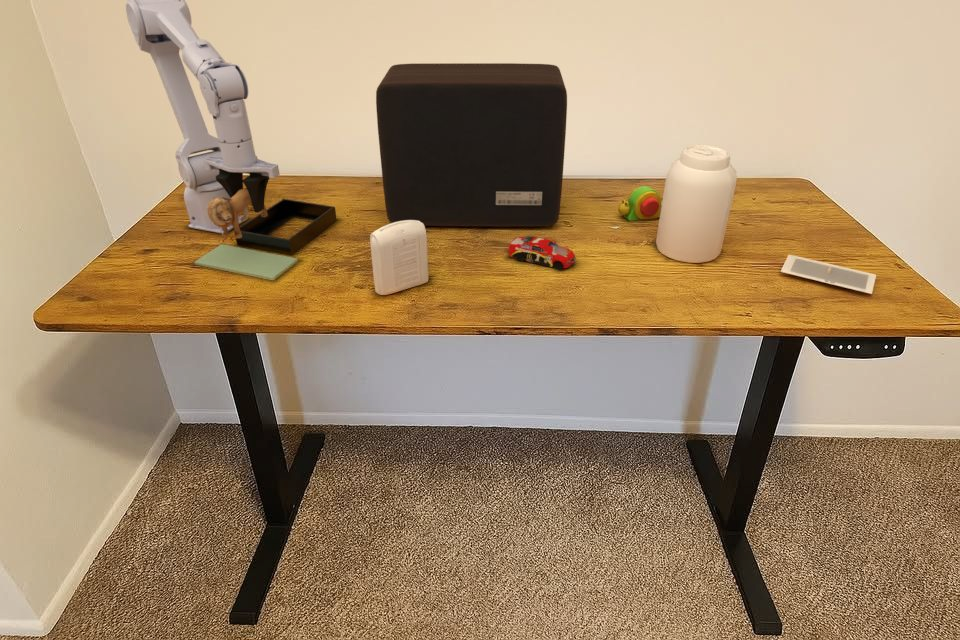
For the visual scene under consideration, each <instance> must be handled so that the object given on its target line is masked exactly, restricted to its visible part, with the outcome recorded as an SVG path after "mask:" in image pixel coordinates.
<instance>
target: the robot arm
mask: <svg viewBox="0 0 960 640" xmlns="http://www.w3.org/2000/svg"><path fill="white" fill-rule="evenodd" d="M125 13H126V18H127V21H128V24H129V27H130V30H131V32H132V34H133V37H134V40H135V42H136V44H137V45H138V48H139V50H140V51H142V52H144V53H147V54H150V57H151V59H152V61H153V63H154V64H155V67H156V69H157V72H158V74H159V77H160V80H161V83H162V86H163V88H164V91H165V93H166V95H167V98H168V101H169V103H170V106H171V108H172V111H173V114H174V116H175V119H176V122H177V124H178V127H179V130H180V133H181V134H182V137H183V141H182V143H181V144H179V146H178V148H177V149H176V152H175V159H176V163H177V168H178V172H179V175H180V177H181V180H182V181H183V183H184V185H185V188H184V191H183V201H184V204H185V208H186V211H187V214H188V219H189V222H190V223H189V224H188V225H187V226H188V228H190V229H195V230H200V231H205V232H212V233H217V234H221V235H222V233H224V232H223V230H222V228H221V227H218V226H217V225H215V224H214V223H213V222H212V221H211V219H210V218H209V216H208V214H207V209H206V207H207V206H208V202H209V201H210V200H212V199H213V198H217V197H218V198H219V197H220V198H222V197H224V198H227V199H230V198H231V197H233V196H234V195H235V194H236V193H237V192H238V191H239V190H240V189H244V187H245V188H247V190H248V192H249V195H250V198H251V201H252V206H253V207H252V206H251V207H252V209H253V211H254V213H256V214H260V213H261V212H263V211H262V210H263V209H264V205H265V198H266V192H267V191H266V190H267V185H268V183H269V180H270V179H275V178H277V177H279V176H280V175H281V173H280V169H279V164H276V163H271V162H268V161H265V160H262V159H259V158H258V156H257V155H256V149H255V146H254V141H253V136H252V131H251V126H250V121H249V116H248V111H247V107H246V101H245V100H247V99H248V97H249V85H248V81H247V78H246V75H245V74H244V72H243V70H242V69H241V68H240V66H239V64H237V63H232V62H226V60H225V59H224V58H223V57H222V55H221V54H220V53H219V52H218V51H217V50H216V48H215V47H214V46H213V44H212V43H210V41H208V40H206V39H202V38H200V37H199V35H198V34H197V33H196V30H194V28H193V26H192V15H191V11H190V8H189V5H188V3H187V1H186V0H127V1H126V4H125ZM180 51H181V56H180ZM181 58H182V59H181ZM183 63H184V64H183ZM184 65H185V66H186V67H187V69H188V70H189V71H190V72H191V73H192V75H193V76H194V77H195V78H196V80H197V81H198V82H199V89H200V91H201V92H200V93H201V94H202V97H203V99H204V100H205V104H206V107H207V110H208V113H209V114H210V115H212V119H213V124H214V128H215V133H216V136H213V135H211V134H210V133H209V130H208V128H207V126H206V123H205V120H204V117H203V115H202V111H201V109H200V107H199V104H198V101H197V98H196V96H195V93H194V90H193V88H192V85H191V83H190V80H189V77H188V74H187V72H186V69H185V67H184ZM207 151H208V152H207ZM198 153H199V154H198ZM194 154H195V155H194ZM190 155H191V156H190ZM244 174H247V175H248V176H246V177H244ZM243 216H244V215H240V216H239V217H238V222H239V225H242V224H243V223H244V222H245V221H241V217H243ZM227 229H228V232H231V231H232V230H234V227H233V225H232V224H231V225H230V226H228V227H227Z"/></svg>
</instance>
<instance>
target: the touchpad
mask: <svg viewBox="0 0 960 640" xmlns="http://www.w3.org/2000/svg"><path fill="white" fill-rule="evenodd" d="M780 273H784V274H788V275H793V276H795V277H796V276H797V277H801V278H804V279H808V280H814V281H817V282H821V283H826V284H829V285H833V286H838V287H841V288H846V289H850V290H852V291H853V290H854V291H857V292H862V293H866V294H870V295H872V294H873V291H874V288H875V287H874V286H875V283H876V278H877V274H875V273H871V272H867V271H862V270H859V269H853V268H849V267H846V266H842V265H837V264H832V263H827V262H823V261H820V260H815V259H811V258H807V257H802V256H797V255H794V254H788V255H787V257H786V259H785V261H784V264H783V265H782V268H781V270H780Z"/></svg>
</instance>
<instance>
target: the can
mask: <svg viewBox="0 0 960 640" xmlns="http://www.w3.org/2000/svg"><path fill="white" fill-rule="evenodd" d="M737 182H738V175H737V171H736V168H735V167H734V166H733V165H732V164H731V155H730V153H729V151H727V150H725V149H722V148H720V147H717V146H712V145H704V144H703V145H702V144H698V145H691V146H686V147H685V148H683V150H682V151H681V153H680V157H679V158H677V159H676V160H674V161H673V162H672V163H670V166H669V168H668V171H667V173H666V176H665V182H664V189H663V195H662V199H661V206H662V207H661V213H660V218H659V220H658V225H657V232H656V238H655V239H656V240H655V244H656V248H657V250H658V251H659V252H660V253H661V254H662V255H664V256H665V257H667V258H669V259H672V260H674V261H677V262H683V263H689V264H691V263H692V264H693V263H695V264H700V263H701V264H702V263H707V262H711V261H714V260H715V259H717V258H718V257H719V255H720V254H721V252H722V249H723V248H722V247H723V244H724V239H725V234H726V230H727V227H728V221H729V217H730V213H731V208H732V204H733V199H734V195H735V191H736V187H737Z"/></svg>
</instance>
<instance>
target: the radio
mask: <svg viewBox="0 0 960 640" xmlns="http://www.w3.org/2000/svg"><path fill="white" fill-rule="evenodd" d="M567 91H568V90H567V88H566V85H565V82H564V78H563V76H562V72H561V69H560V67H559V66H557V65H556V64H548V63H518V62H517V63H516V62H515V63H514V62H513V63H512V62H511V63H510V62H507V63H505V62H503V63H501V62H500V63H499V62H498V63H497V62H495V63H491V62H489V63H486V62H484V63H483V62H482V63H478V62H477V63H475V62H474V63H472V62H471V63H464V62H463V63H462V62H461V63H457V62H456V63H455V62H454V63H451V62H450V63H442V62H441V63H439V62H438V63H436V62H435V63H433V62H432V63H398V64H393V65H391V66H390V67H389V69H388V70H387V72H386V74H385V75H384V76H383V78H382V80H381V81H380V83H379V85H377V87H376V91H375V107H376V121H377V135H378V145H379V155H380V165H381V166H380V167H381V177H382V187H383V189H382V190H383V195H384V196H383V197H384V205H385V212H386V217H387V220H388V221H389V223H390V224H391V223H394V222H398V221H404V220H417V221H420V222H421V223H423V224H424V226H425V227H429V226H430V227H503V228H505V227H507V228H508V227H509V228H510V227H550V226H554V225H556V224H557V223H558V221H559V218H560V212H561V203H562V192H563V191H562V190H563V179H564V178H563V177H564V164H565V148H566V133H567V116H568V115H567V114H568V92H567Z"/></svg>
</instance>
